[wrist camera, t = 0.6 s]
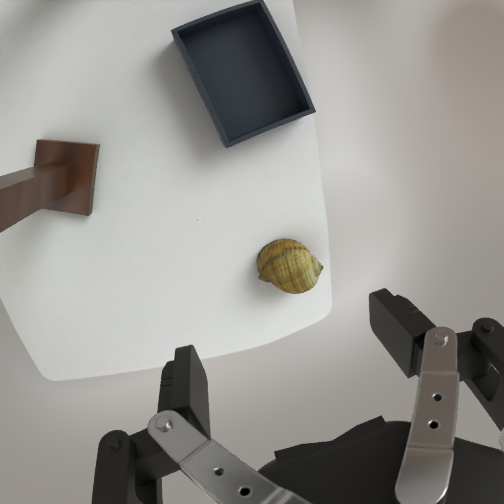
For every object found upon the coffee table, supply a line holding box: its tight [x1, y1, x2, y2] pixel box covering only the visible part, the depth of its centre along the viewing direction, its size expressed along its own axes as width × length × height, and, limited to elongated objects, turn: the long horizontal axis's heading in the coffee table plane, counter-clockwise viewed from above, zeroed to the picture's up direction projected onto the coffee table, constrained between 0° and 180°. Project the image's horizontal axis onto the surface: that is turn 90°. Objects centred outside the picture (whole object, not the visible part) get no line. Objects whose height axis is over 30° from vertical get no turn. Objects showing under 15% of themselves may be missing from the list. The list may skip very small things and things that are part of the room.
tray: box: [171, 0, 316, 148], centre depth 35 cm, size 17×12×4 cm
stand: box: [0, 139, 100, 233], centre depth 24 cm, size 10×12×32 cm
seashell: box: [257, 239, 323, 294], centre depth 46 cm, size 10×7×8 cm
